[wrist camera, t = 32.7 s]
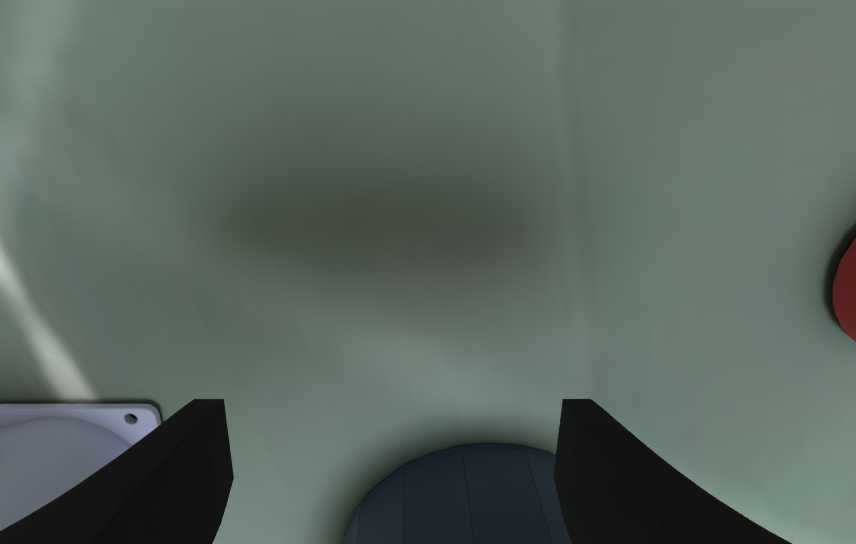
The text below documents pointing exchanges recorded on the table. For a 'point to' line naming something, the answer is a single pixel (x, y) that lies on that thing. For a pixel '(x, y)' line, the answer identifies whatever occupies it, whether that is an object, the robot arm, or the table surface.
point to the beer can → (846, 291)
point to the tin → (465, 500)
